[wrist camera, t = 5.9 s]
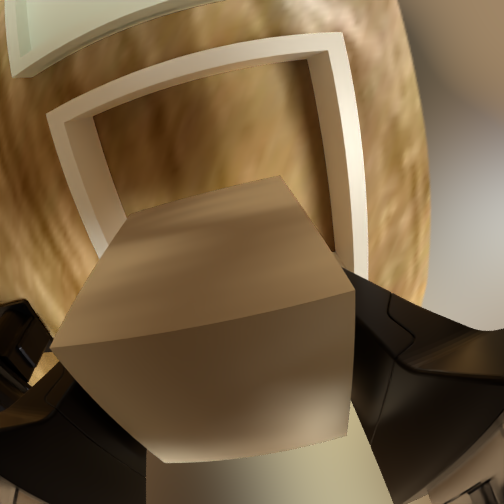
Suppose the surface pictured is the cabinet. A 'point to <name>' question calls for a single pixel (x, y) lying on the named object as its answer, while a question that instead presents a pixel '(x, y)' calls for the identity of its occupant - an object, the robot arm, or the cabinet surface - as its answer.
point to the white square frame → (207, 64)
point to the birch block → (217, 327)
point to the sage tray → (72, 26)
